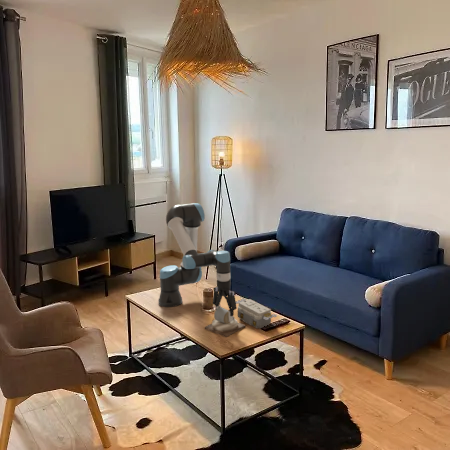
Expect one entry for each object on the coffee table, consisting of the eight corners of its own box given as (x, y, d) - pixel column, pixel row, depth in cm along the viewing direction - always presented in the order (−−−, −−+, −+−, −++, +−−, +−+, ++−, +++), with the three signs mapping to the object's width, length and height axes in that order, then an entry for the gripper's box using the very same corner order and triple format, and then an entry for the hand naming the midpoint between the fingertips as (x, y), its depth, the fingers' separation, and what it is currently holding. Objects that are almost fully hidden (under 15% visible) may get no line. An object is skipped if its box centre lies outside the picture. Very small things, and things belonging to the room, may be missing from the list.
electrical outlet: (245, 310, 271) (245, 295, 268) (279, 328, 249) (279, 312, 247) (230, 316, 263) (230, 300, 261) (263, 335, 242) (264, 317, 239)
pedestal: (204, 329, 248) (204, 322, 247) (223, 319, 260) (223, 313, 259) (226, 337, 238) (226, 330, 237) (245, 327, 249) (245, 320, 249)
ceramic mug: (224, 326, 242) (224, 312, 241) (214, 322, 248) (213, 308, 246) (238, 320, 250) (237, 307, 248) (227, 316, 255) (227, 303, 254)
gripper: (204, 277, 247) (206, 316, 252) (233, 285, 234) (234, 326, 238) (214, 274, 253) (215, 312, 257) (243, 281, 239) (243, 321, 243)
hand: (224, 319), depth 248 cm, fingers closed on ceramic mug, 8 cm apart
